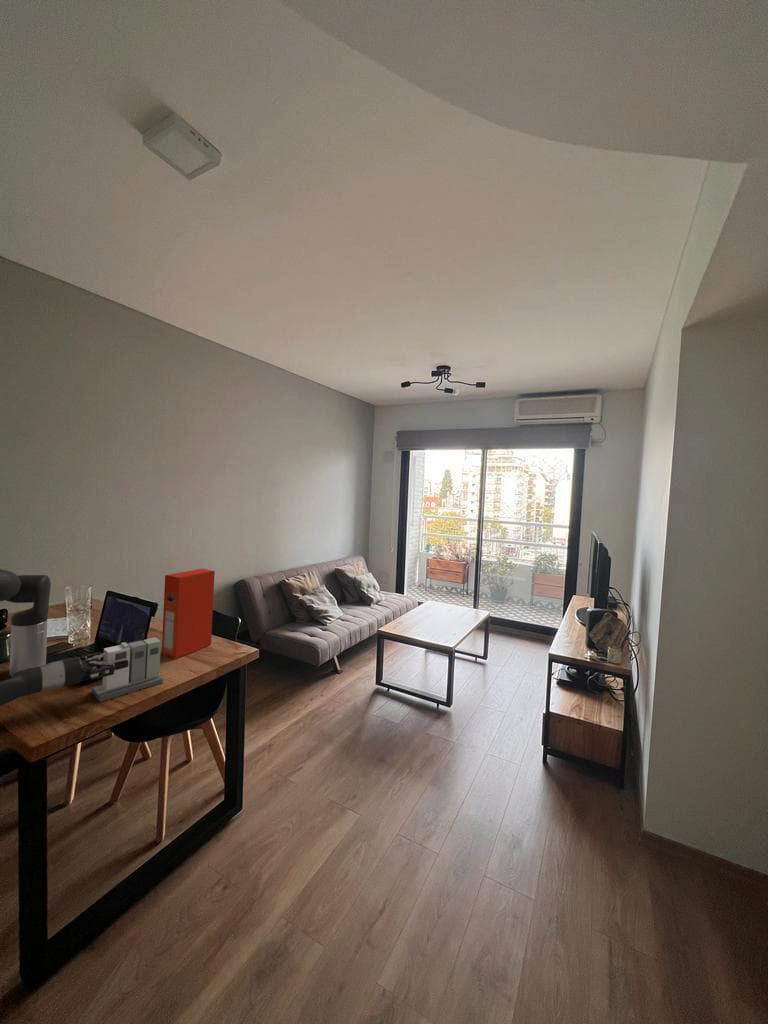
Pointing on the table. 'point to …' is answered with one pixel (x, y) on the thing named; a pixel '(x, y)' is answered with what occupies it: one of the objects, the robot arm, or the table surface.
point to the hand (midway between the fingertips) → (123, 658)
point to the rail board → (137, 669)
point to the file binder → (187, 612)
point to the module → (119, 675)
